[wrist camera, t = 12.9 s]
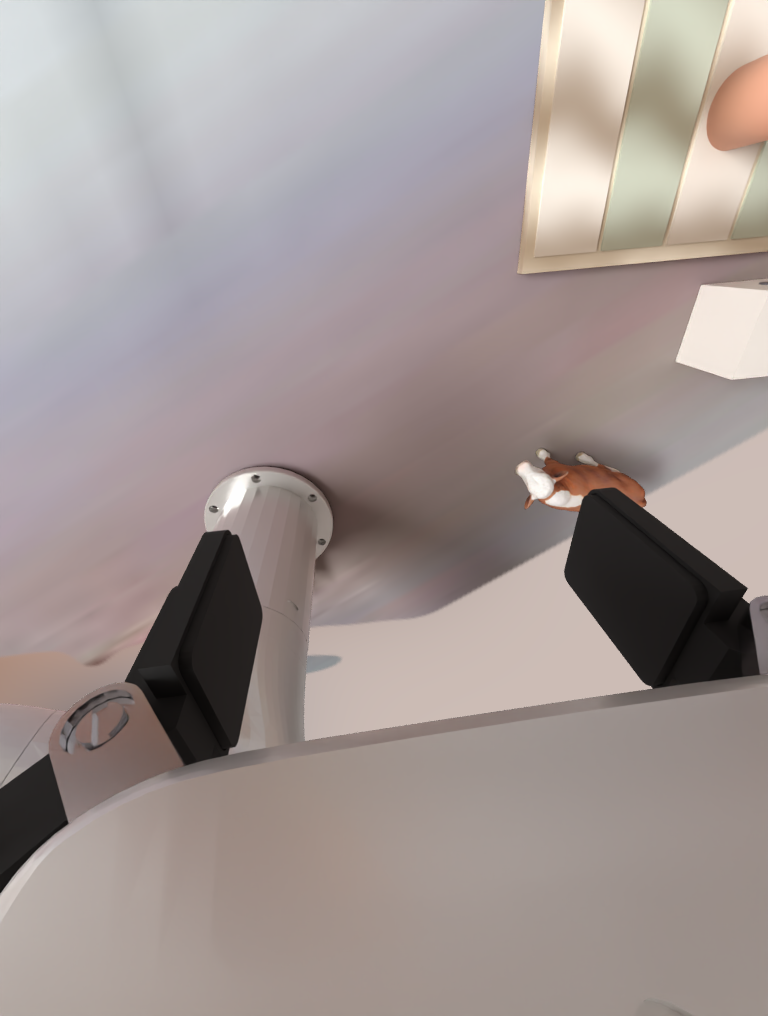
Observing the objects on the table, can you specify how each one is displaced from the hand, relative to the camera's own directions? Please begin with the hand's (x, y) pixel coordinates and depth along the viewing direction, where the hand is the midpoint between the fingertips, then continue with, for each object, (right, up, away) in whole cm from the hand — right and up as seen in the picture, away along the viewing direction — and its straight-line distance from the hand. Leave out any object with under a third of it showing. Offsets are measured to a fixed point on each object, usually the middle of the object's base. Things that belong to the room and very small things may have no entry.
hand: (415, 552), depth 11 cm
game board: (+19, +27, +15) cm, 36 cm away
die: (+28, +17, +22) cm, 40 cm away
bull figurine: (+16, +6, +29) cm, 34 cm away
